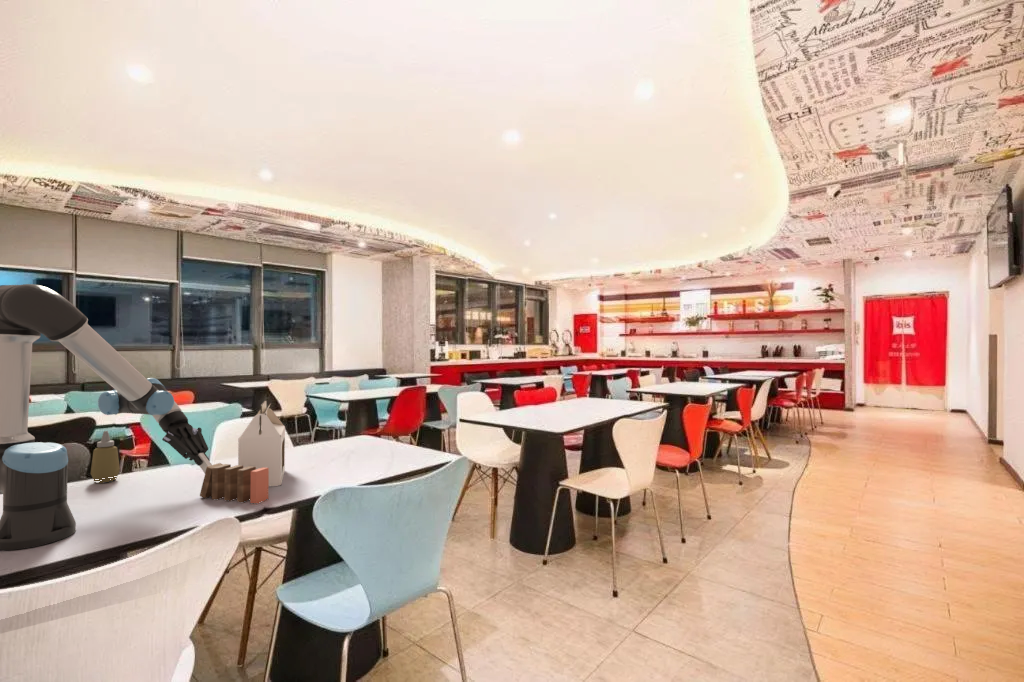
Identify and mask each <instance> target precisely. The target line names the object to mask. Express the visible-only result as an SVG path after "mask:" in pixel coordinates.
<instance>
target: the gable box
mask: <svg viewBox="0 0 1024 682" xmlns="http://www.w3.org/2000/svg"><path fill="white" fill-rule="evenodd" d="M271 404H272V403H271V402H270V403H269V405H267V400H264V401H263V402H262V403H261V404H260V409H259V410H258V412H257V414H256V415H254V416H253V418H252V419H251V421H249V423H248V425H247V426H246V428H245V430H244V431H243V432H242V434H240V436H239V437H238V443H237V444H238V447H237V448H238V450H237V451H238V452H237V453H238V456H237V458H238V459H237V460H238V461H237V465H242V466H243V468H246V467H249V466H253V467H256V469H259V468H262V467H265V468H269V486H272V487H279V486H278V485H281V486H282V483H283V479H284V476H285V475H284V474H285V471H286V470H285V469H286V468H285V467H286V466H285V465H286V459H285V457H286V426H285V425H284V423H282V421H281V420H280V419H279V417H278V416H277V414H276V413H275V411H274V410H273V409H272V408H270V406H271Z"/></svg>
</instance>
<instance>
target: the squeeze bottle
mask: <svg viewBox="0 0 1024 682" xmlns="http://www.w3.org/2000/svg"><path fill="white" fill-rule="evenodd" d="M90 466H91V467H90V475H91V477H92V479H94V480H93V482H94V481H100V480H102V481H100V482H99V483H98V484H104V483H103V482H109V481H112V482H114V481H113V480H115V481H116V480H117V479H118V476H119V474H120V471H121V469H120V461H119V451H118V447H117V446H115V440H111V438H110V434H109V431H108V430H105V431H103V433H102V436H101V440H100V441H97V442H96V447H95V449H93V452H92V460H91V465H90ZM114 476H117V477H114ZM108 477H113V478H108ZM102 478H105V479H102ZM115 478H116V479H115ZM95 479H99V480H95ZM110 479H111V480H110ZM109 483H110V482H109Z"/></svg>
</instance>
